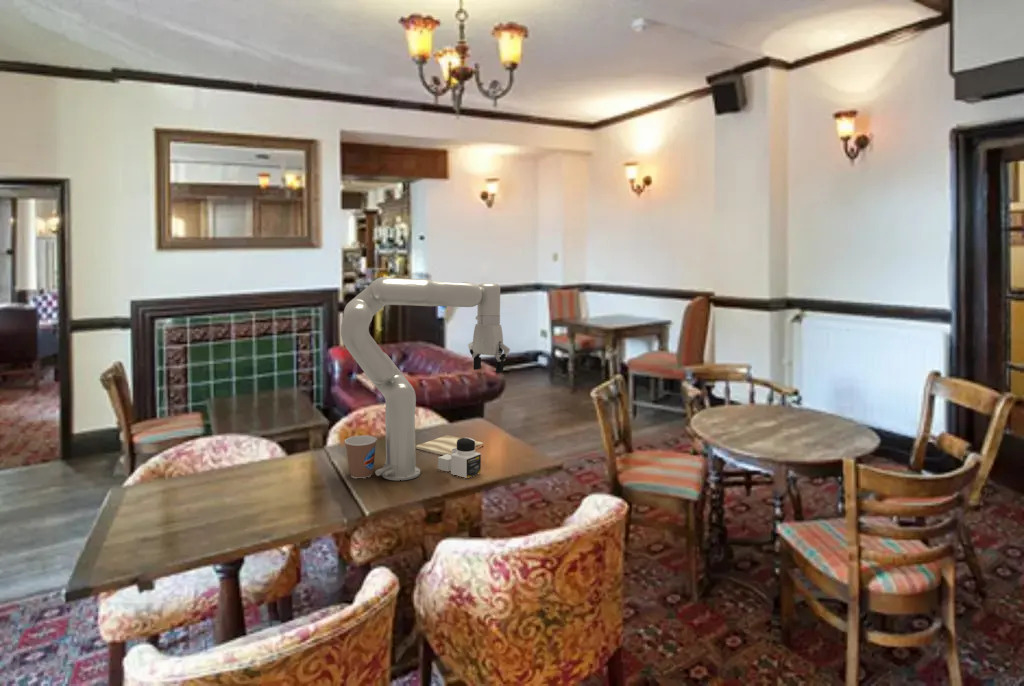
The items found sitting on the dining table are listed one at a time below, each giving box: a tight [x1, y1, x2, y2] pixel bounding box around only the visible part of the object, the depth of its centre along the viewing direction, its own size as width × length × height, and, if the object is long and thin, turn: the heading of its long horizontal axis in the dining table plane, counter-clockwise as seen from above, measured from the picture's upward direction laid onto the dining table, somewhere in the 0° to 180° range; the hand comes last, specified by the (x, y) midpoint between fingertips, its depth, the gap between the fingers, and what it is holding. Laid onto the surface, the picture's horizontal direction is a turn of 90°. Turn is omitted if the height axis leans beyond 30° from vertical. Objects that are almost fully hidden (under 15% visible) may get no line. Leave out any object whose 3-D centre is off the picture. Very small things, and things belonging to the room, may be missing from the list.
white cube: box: [437, 454, 451, 471], centre depth 216 cm, size 4×4×4 cm
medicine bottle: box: [450, 437, 482, 479], centre depth 211 cm, size 7×7×12 cm
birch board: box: [415, 434, 485, 455], centre depth 240 cm, size 18×18×2 cm
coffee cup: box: [344, 435, 378, 479], centre depth 209 cm, size 10×10×12 cm
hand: (488, 371), depth 215 cm, fingers open, 9 cm apart
